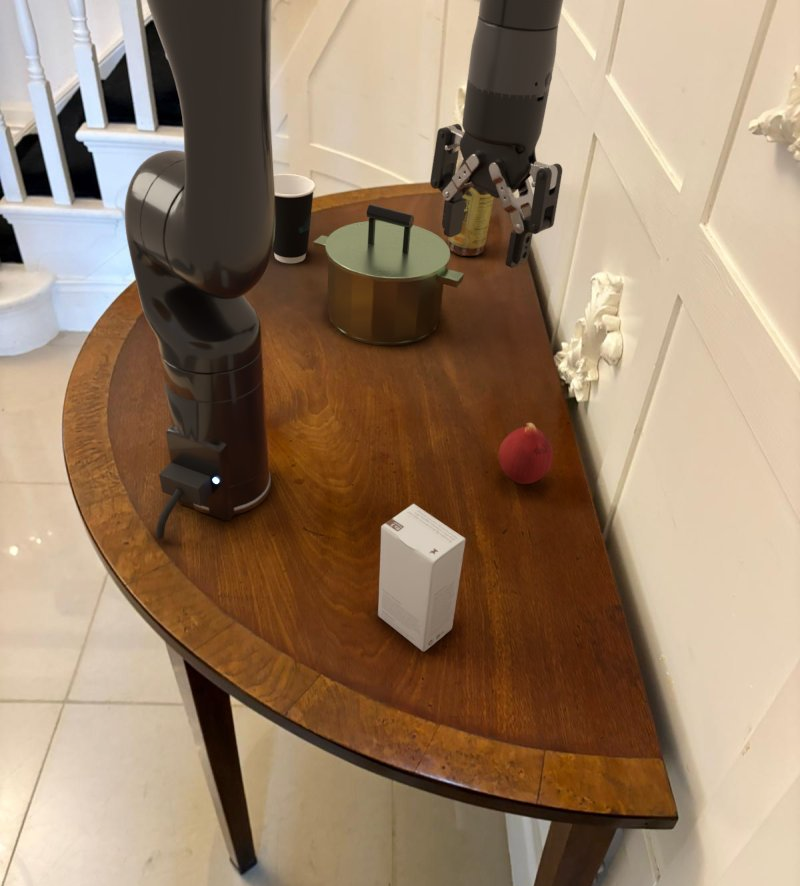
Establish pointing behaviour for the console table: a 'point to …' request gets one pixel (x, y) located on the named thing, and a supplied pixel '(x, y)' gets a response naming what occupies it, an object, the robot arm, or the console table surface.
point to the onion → (526, 454)
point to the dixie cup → (292, 216)
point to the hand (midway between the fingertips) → (482, 249)
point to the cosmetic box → (419, 576)
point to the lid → (387, 248)
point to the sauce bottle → (473, 223)
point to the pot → (385, 305)
